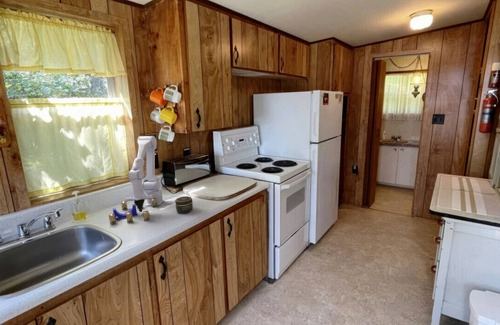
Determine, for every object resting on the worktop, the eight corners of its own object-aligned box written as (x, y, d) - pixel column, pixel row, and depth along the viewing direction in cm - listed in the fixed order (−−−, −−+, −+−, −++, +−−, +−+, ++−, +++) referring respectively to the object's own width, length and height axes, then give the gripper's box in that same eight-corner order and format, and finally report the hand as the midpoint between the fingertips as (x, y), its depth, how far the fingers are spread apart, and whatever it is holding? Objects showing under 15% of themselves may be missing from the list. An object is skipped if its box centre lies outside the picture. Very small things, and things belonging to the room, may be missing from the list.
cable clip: (136, 212, 157) (134, 203, 155) (137, 215, 153) (135, 205, 152) (114, 217, 151) (112, 207, 150) (114, 220, 147) (112, 210, 146)
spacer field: (157, 205, 167) (156, 198, 166) (149, 220, 145) (147, 212, 143) (123, 208, 164) (122, 201, 163) (109, 224, 142) (107, 216, 141)
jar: (174, 210, 158) (173, 198, 157) (190, 206, 163) (189, 195, 161) (178, 215, 150) (176, 203, 148) (195, 212, 154) (194, 199, 152)
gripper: (122, 193, 147) (126, 215, 150) (149, 190, 149) (152, 212, 152) (126, 189, 154) (129, 210, 156) (152, 187, 155) (154, 208, 158)
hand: (141, 211), depth 154 cm, fingers closed
